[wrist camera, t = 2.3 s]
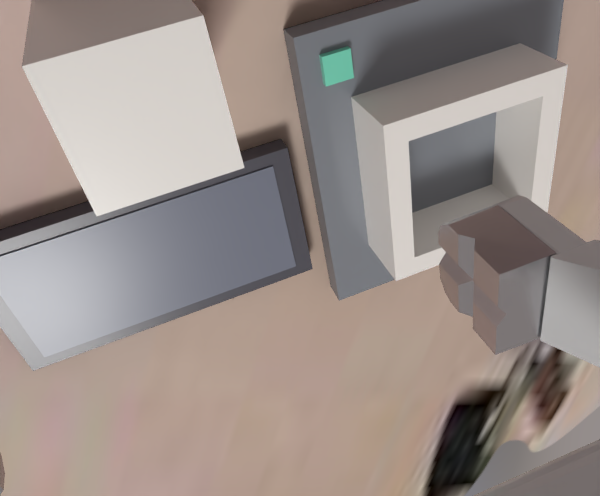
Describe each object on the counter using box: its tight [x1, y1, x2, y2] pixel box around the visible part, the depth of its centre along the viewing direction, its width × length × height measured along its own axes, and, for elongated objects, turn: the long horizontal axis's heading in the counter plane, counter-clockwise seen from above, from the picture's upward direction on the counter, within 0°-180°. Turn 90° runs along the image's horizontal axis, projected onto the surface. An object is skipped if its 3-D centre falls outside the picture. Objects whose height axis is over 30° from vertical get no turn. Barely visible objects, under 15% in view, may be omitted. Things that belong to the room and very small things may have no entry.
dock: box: [283, 0, 568, 300], centre depth 26 cm, size 14×12×4 cm
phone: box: [0, 139, 312, 371], centre depth 25 cm, size 14×7×1 cm, turn 100°
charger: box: [22, 0, 244, 216], centre depth 18 cm, size 5×4×7 cm
